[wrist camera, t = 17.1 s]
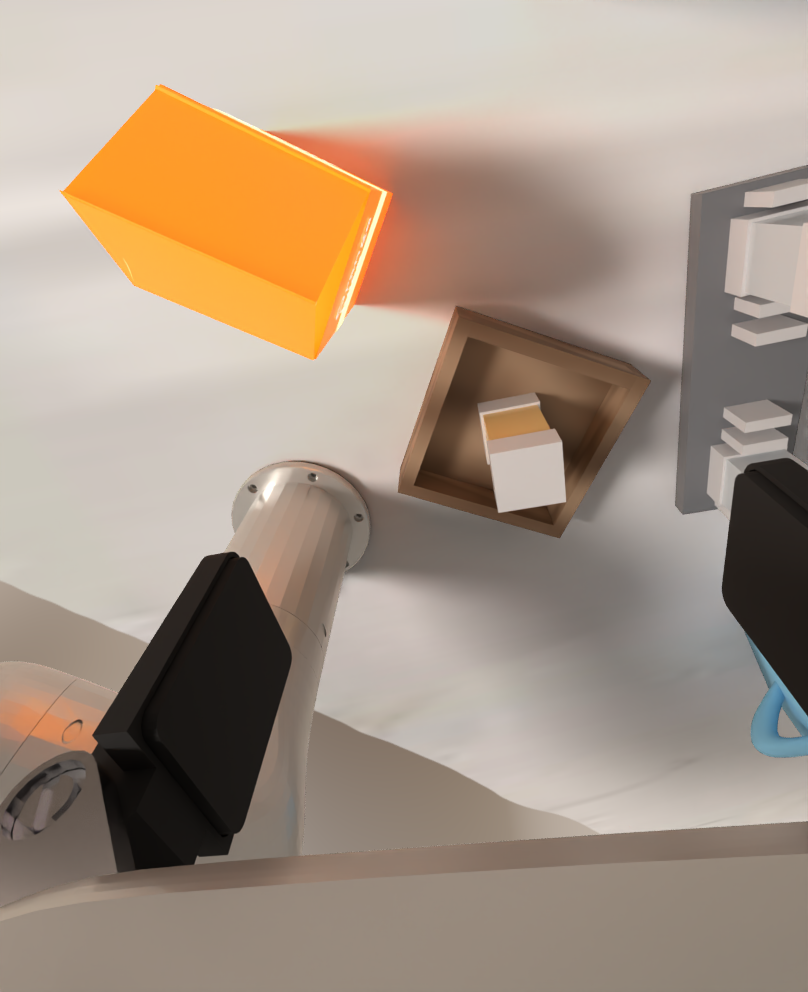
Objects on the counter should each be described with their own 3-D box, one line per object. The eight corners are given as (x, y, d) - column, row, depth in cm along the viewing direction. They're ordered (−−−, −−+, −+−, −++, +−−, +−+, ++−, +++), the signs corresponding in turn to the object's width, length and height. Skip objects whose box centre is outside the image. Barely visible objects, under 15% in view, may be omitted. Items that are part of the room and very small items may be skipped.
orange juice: (264, 127, 31) (61, 38, 14) (394, 192, 32) (357, 182, 15) (236, 255, 35) (50, 309, 18) (354, 307, 36) (288, 404, 19)
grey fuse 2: (764, 483, 40) (843, 550, 33) (706, 493, 41) (771, 560, 33) (771, 435, 38) (858, 494, 31) (710, 445, 39) (780, 506, 31)
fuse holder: (774, 489, 42) (808, 518, 39) (675, 505, 44) (699, 534, 40) (828, 159, 31) (886, 153, 27) (691, 193, 32) (727, 193, 28)
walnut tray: (549, 512, 44) (559, 538, 41) (400, 468, 43) (397, 492, 39) (630, 364, 38) (651, 380, 34) (455, 305, 36) (458, 316, 32)
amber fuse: (539, 443, 40) (566, 501, 32) (485, 453, 41) (498, 512, 33) (534, 392, 38) (562, 441, 30) (477, 403, 39) (489, 454, 31)
